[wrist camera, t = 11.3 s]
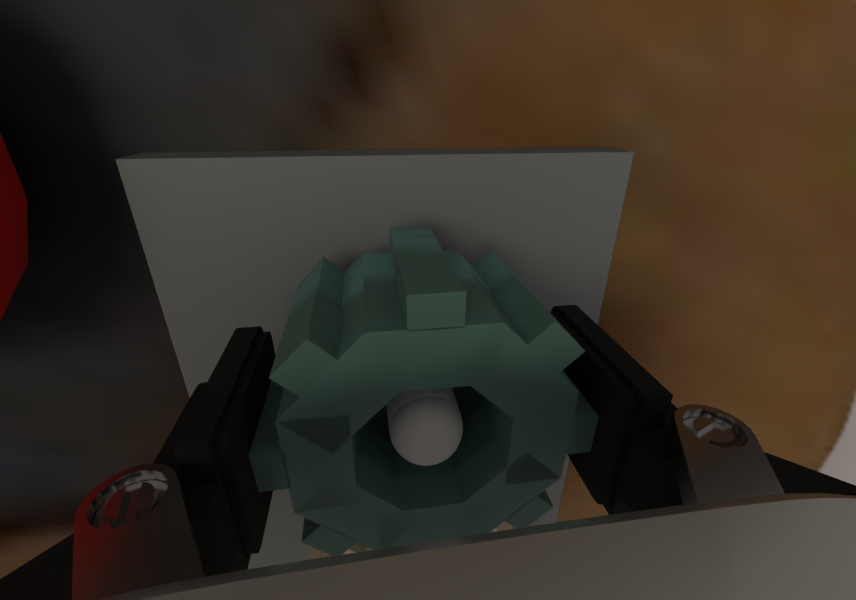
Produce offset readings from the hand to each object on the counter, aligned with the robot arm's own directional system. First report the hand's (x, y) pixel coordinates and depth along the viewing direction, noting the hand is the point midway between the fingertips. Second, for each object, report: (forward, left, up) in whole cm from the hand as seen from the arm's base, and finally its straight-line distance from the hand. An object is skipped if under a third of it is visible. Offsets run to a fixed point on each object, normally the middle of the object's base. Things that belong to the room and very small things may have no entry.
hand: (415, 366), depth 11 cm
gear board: (0, -4, -4) cm, 6 cm away
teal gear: (0, 0, -1) cm, 1 cm away
